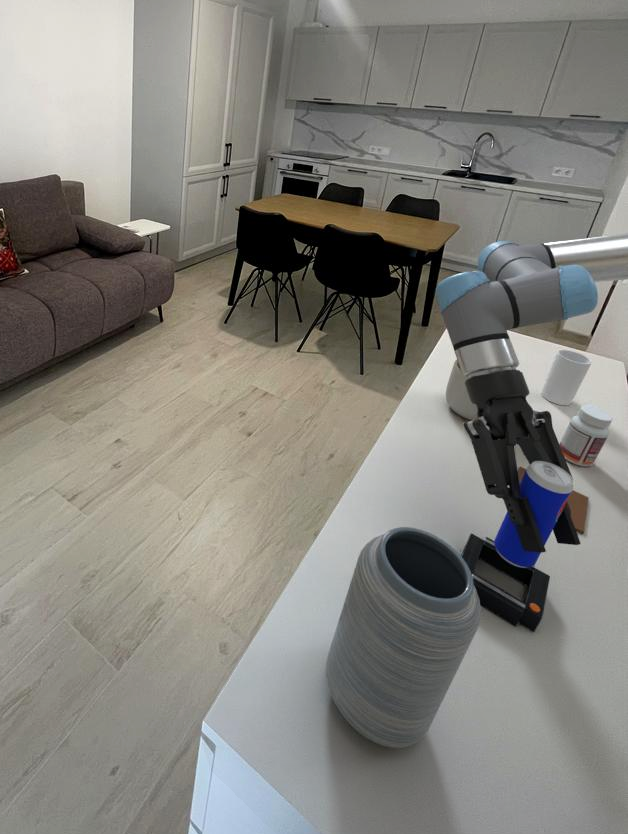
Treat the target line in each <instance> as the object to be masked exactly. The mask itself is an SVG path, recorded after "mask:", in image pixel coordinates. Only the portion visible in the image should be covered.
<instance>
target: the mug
mask: <svg viewBox="0 0 628 834" xmlns="http://www.w3.org/2000/svg"><path fill="white" fill-rule="evenodd" d="M592 363H593V361H592V360H591V359H590V358H589V357H588V356H586V355H584V354H583V353H580V352H577V351H574V350H571V349H558V350H557V352H556V354H555V356H554V359H553V361H552V364H551V366H550V369H549V371H548V374H547V377H546V379H545V381H544V384H543V386H542V389H541V390H540V391H541V392H540V395H541V397H543V398H544V399H545V400H546V401H549V402H550V403H553V404H556V405H559V406H565V405H566V406H570V405H571V404H572V402H573V401H574V399H575V397H576V395H577V393H578V390H579V389H580V387H581V385H582V383H583V381H584V379H585V377H586V375H587V373H588V371H589V369H590V367H591V365H592Z"/></svg>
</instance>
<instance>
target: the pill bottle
mask: <svg viewBox="0 0 628 834" xmlns="http://www.w3.org/2000/svg"><path fill="white" fill-rule="evenodd" d="M613 420H614V419H613V416H612V415H611V414H610V413H609V412H608V411H607V410H604V409H603V408H601V407H598V406H594V405H590V404H583V405H581V406H580V407H579V410H578V412H577V415H574V416H573V417H572V418H571V419H570V421H569V423H568V424H567V427H566V429H565V431H564V434H563V435H562V438H561V440H560V442H559V445H560V447H561V450H562V452H563V455H564V457H565V460H566V461H568V462H569V463H572V464H573V465H576V466H580V467H585V468H586V467H592V466H593V465H594V464H595V462H596V460H597V458H598V456H599V455H600V453H601V451H602V449H603V447H604V445H605V443H606V441H607V440H608V438H609V435H610V429H609V427H610V426H611V423H612V421H613Z"/></svg>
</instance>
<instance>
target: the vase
mask: <svg viewBox="0 0 628 834" xmlns="http://www.w3.org/2000/svg"><path fill="white" fill-rule="evenodd" d="M481 616H482V609H481V605H480V600H479V597H478V594H477V591H476V588H475V586H474V583H473V577H472V574H471V571H470V569H469V567H468V565H467V564H466V562H465V561H464V559H463V558H462V557H461V554H460V553H459V552H458V551H457V550H456V549H455V548H453V547H452V545H450V544H449V543H448V542H446V541H445V540H443V539H442V538H440V537H438V536H437V535H435V534H433V533H431V532H428V531H426V530H423V529H420V528H415V527H408V526H400V527H395V528H392V529H390V530H388V531H387V532H385V533H383V534H380V535H378V536H376V537H373V538H372V539H370V540H369V541H368V542H367V543H366V544H365V545H364V547H363V548H362V549H361V550H360V552H359V555H358V558H357V561H356V565H355V567H354V570H353V574H352V576H351V579H350V583H349V586H348V590H347V593H346V596H345V599H344V602H343V606H342V608H341V612H340V615H339V618H338V621H337V625H336V629H335V631H334V634H333V638H332V641H331V644H330V647H329V650H328V653H327V657H326V664H325V676H326V681H327V686H328V689H329V692H330V695H331V698H332V700H333V702H334V704H335V706H336V707H337V709H338V711H339V712H340V714H341V715H342V717H343V718H344V719H345V720H346V722H347V723H348V724H349V725H350V726H351V727H352V728H353V729H354V730H356V732H357V733H358V734H359V735H361V736H363V737H364V738H365V739H367V740H369V741H371V742H373V743H375V744H377V745H380V746H383V747H386V748H394V749H402V748H407V747H411V746H414V745H416V744H417V743H418V742H420V741H421V740H423V738H424V737H425V736H426V734H427V733H428V732H429V730H430V728H431V726H432V724H433V721H434V720H435V718H436V715H437V713H438V711H439V709H440V708H441V705H442V703H443V701H444V699H445V697H446V695H447V693H448V690H449V689H450V686H451V685H452V682H453V680H454V679H455V676H456V674H457V672H458V670H459V668H460V667H461V664H462V662H463V660H464V658H465V655H466V654H467V652H468V650H469V648H470V646H471V644H472V641H473V640H474V638H475V635H476V634H477V631H478V629H479V627H480V625H481Z"/></svg>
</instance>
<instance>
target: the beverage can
mask: <svg viewBox="0 0 628 834" xmlns="http://www.w3.org/2000/svg"><path fill="white" fill-rule="evenodd" d="M525 469H526V471H525V473H524V476H523V478H522V480H521V482H520V492H521V497H527V498H528V500H529V503H530V506H531V509H532V512H533V515H534V518H535V521H536V524H537V527H538V529H539V532H540V535H541V538H542V541H543V544H544V547H545V545H546V544H547V542H548V540H549V538H550V536H551V534H552V532H553V528H554V526H555V524H556V522H557V520H558V518H559V516H560V514H561V512H562V510H563V508H564V506H565V505H566V503H567V501H568V499H569V497H570V495H571V493H572V491H573V490H574V478H573V479H572V477H573V476H572V477H571V476H570V475H569V474H568V473H567V472H566V471H565V470H563V469H562V468H560V467H558V466H556V465H554V464H551V463H548V462H544V461H535V462H533V463H532V464H531V465H530V464H529V465H528V466H527V467H526V468H525ZM496 533H497V534H496V536H495V538H494V540H493V541H494V545H495V548H496V550H497V552H498V553H499V555H500V556H501V557H502V558H503V559H504V560H506V561H507V562H509V563H510V564H512V565H514V566H517V567H522V568H527V567H532V566H534V565H535V566H536V564H537V562H538V560H539V557H540V556H541V554H542V553H540V552H531V551H523V548H522V545H521V542H520V539H519V536H518V532H517V529H516V526H515V524H512V522H511V521H510V518H509V515H508V512H507V511H506V513H505V516H504V518H503V520H502V522H501V524H500V526H499V529H498V531H497V532H496Z"/></svg>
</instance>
